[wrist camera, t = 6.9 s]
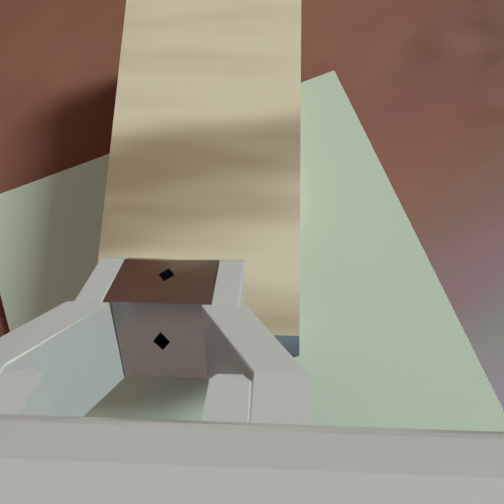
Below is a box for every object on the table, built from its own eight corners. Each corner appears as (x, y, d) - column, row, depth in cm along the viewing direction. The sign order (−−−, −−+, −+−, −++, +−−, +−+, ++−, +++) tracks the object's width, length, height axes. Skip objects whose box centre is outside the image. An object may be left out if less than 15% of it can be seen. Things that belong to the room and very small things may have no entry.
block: (299, 355, 12) (301, -58, 15) (88, 349, 12) (132, -57, 15) (290, 358, 17) (292, 53, 20) (143, 354, 17) (168, 53, 21)
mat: (89, 618, 16) (85, 624, 15) (-18, 205, 20) (-24, 202, 19) (512, 438, 17) (518, 440, 16) (332, 76, 20) (334, 70, 20)
